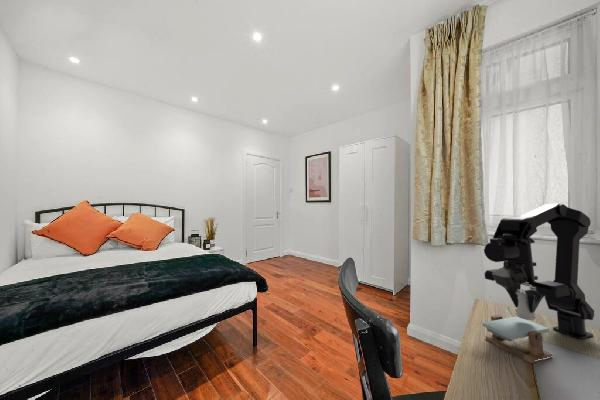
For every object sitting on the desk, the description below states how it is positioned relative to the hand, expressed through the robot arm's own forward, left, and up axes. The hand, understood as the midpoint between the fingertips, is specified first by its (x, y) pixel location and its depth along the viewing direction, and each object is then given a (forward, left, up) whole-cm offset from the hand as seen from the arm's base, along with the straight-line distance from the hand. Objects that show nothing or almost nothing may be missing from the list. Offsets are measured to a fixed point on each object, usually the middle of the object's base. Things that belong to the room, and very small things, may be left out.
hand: (524, 309), depth 69 cm
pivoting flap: (+5, 0, -6) cm, 7 cm away
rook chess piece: (0, 0, -2) cm, 2 cm away
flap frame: (+5, 0, -10) cm, 11 cm away
